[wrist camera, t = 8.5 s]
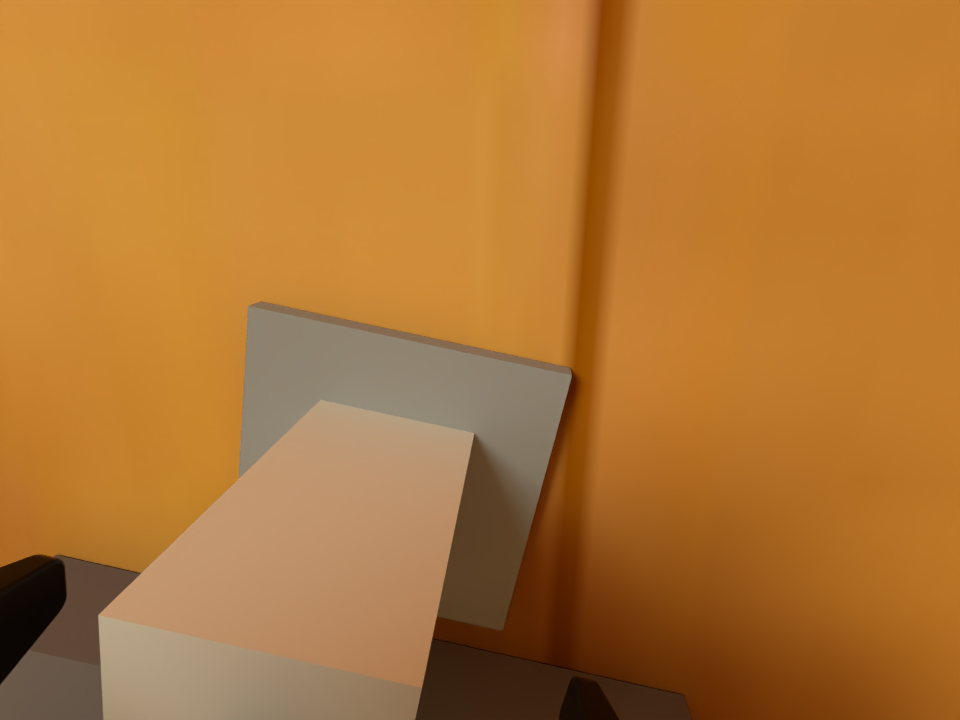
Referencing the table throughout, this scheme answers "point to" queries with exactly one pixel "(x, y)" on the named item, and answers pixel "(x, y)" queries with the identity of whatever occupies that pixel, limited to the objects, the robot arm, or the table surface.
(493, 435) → the grey square plate
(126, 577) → the grey flat block
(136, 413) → the table surface
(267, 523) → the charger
